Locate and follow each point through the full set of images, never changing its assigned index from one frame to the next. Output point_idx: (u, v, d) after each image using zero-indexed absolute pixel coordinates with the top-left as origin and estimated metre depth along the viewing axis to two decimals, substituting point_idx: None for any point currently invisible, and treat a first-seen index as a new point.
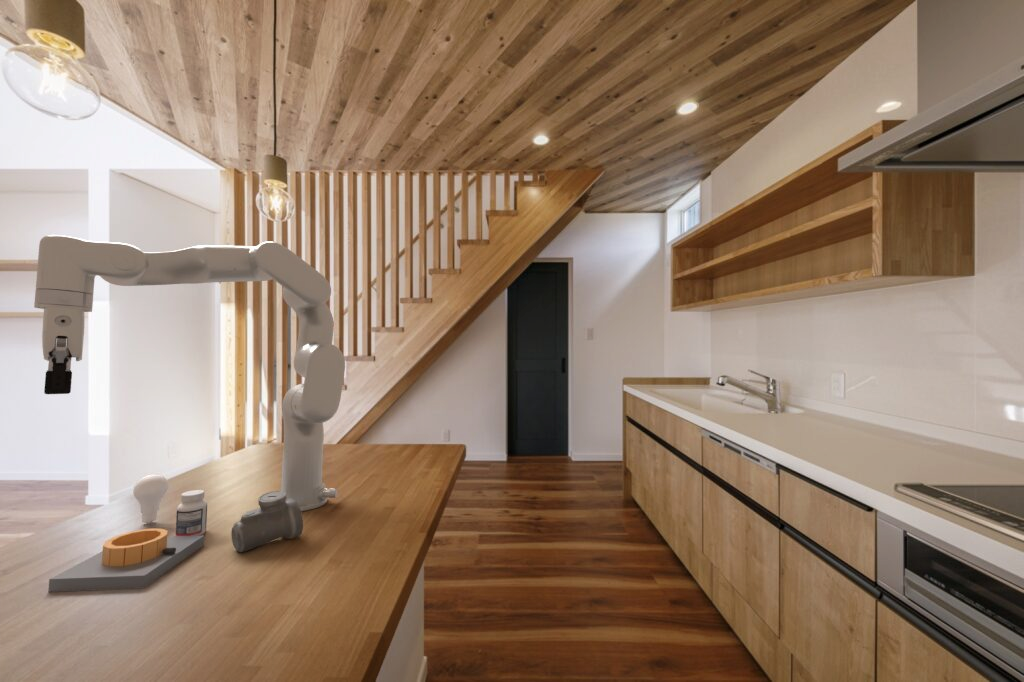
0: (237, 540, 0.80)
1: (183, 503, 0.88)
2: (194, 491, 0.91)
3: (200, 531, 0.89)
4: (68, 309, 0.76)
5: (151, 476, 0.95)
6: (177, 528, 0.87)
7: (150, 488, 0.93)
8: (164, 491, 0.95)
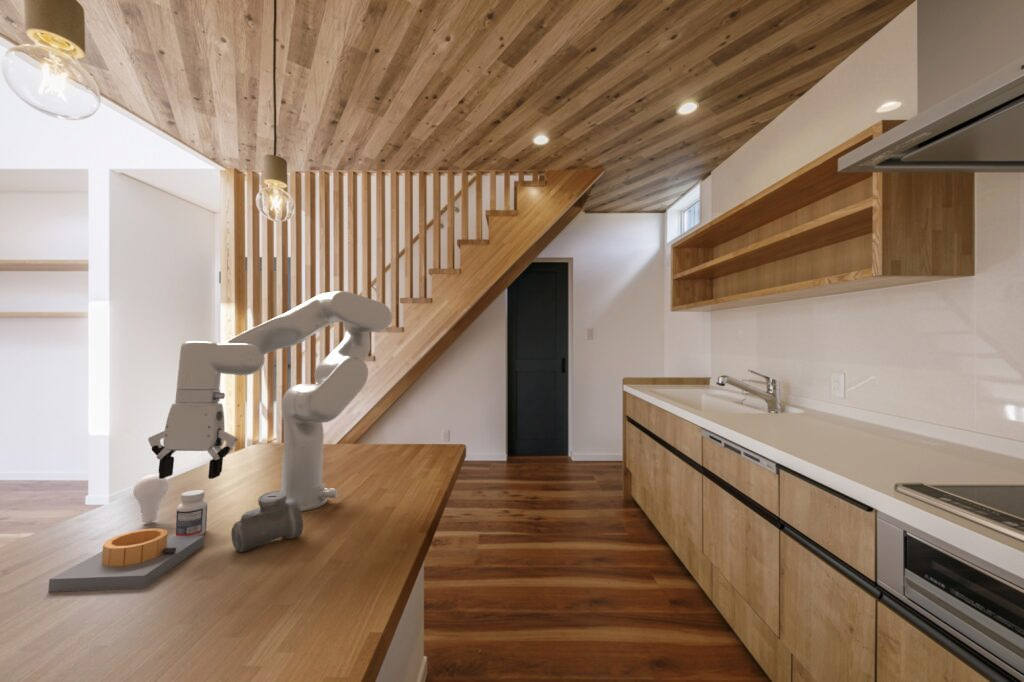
0: (237, 540, 0.80)
1: (183, 503, 0.88)
2: (194, 491, 0.91)
3: (200, 531, 0.89)
4: (220, 405, 0.92)
5: (151, 476, 0.95)
6: (177, 528, 0.87)
7: (150, 488, 0.93)
8: (164, 491, 0.95)
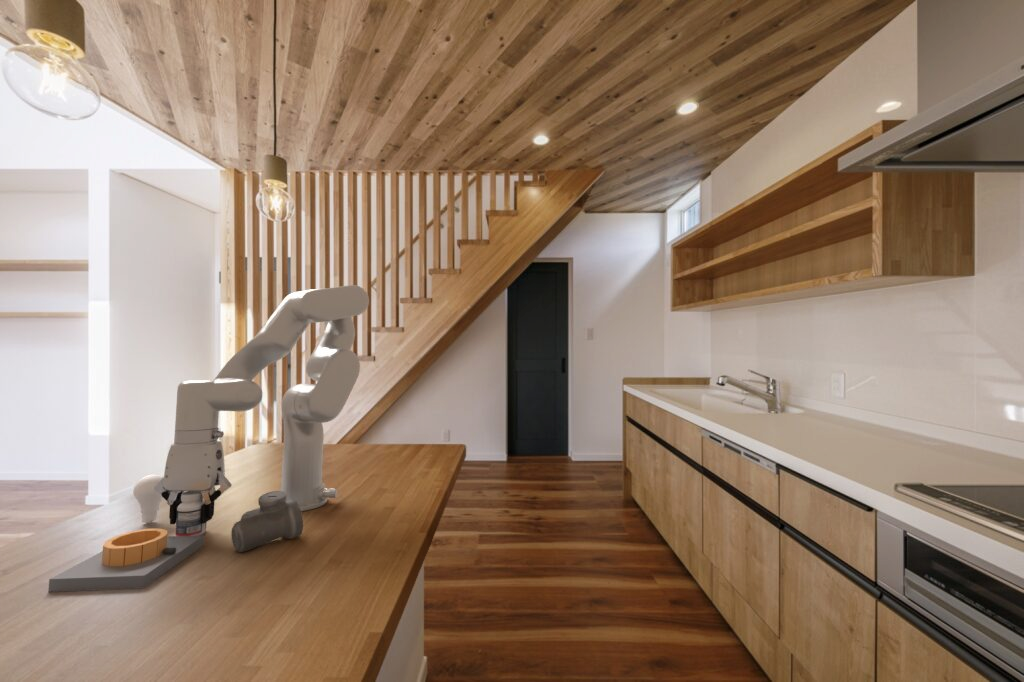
0: (237, 540, 0.80)
1: (183, 503, 0.88)
2: (194, 491, 0.91)
3: (200, 531, 0.89)
4: (219, 443, 0.92)
5: (151, 476, 0.95)
6: (177, 527, 0.87)
7: (150, 488, 0.93)
8: None
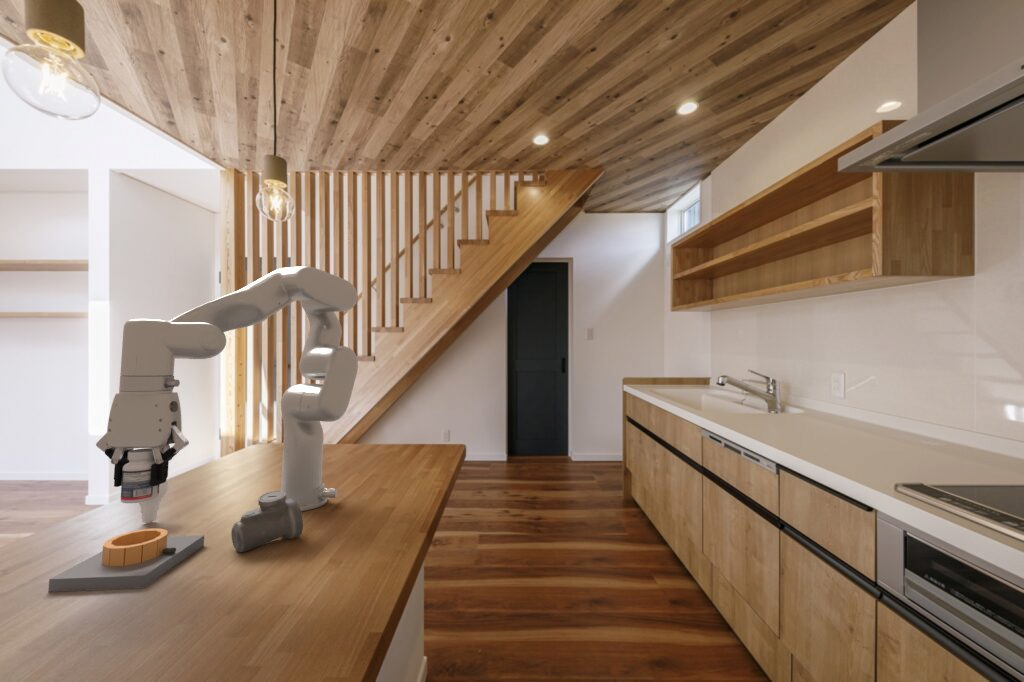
0: (237, 540, 0.80)
1: (130, 462, 0.75)
2: (145, 449, 0.78)
3: (150, 495, 0.75)
4: (174, 394, 0.78)
5: None
6: (122, 490, 0.74)
7: None
8: (164, 491, 0.95)
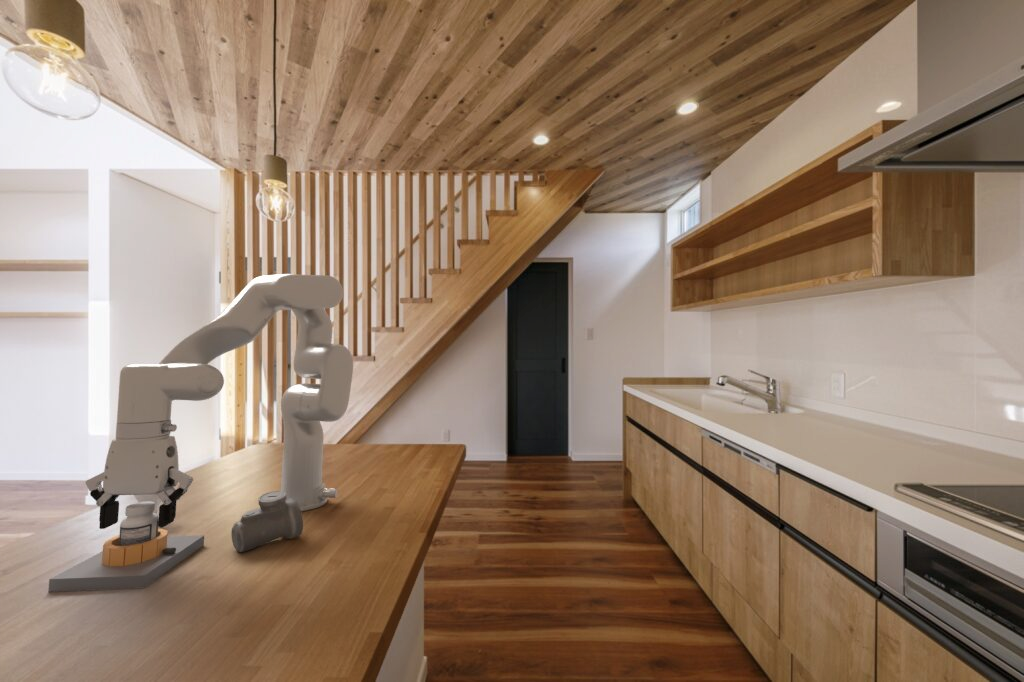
0: (237, 540, 0.80)
1: (128, 518, 0.74)
2: (143, 502, 0.77)
3: None
4: (171, 439, 0.78)
5: None
6: None
7: None
8: None
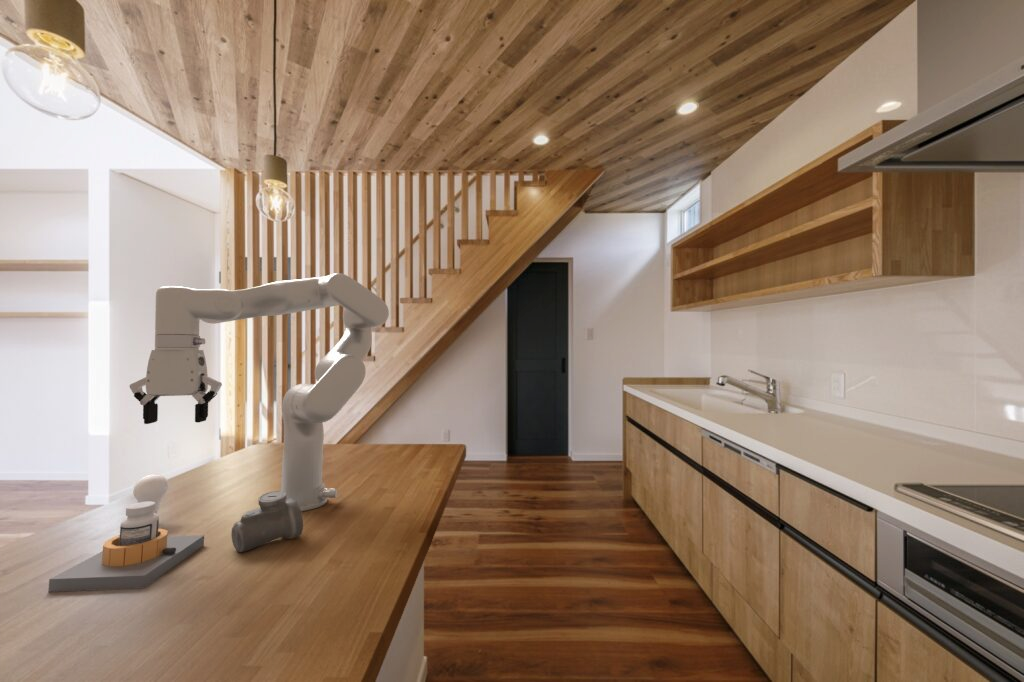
0: (237, 540, 0.80)
1: (128, 517, 0.75)
2: (143, 502, 0.77)
3: None
4: (201, 351, 0.92)
5: (151, 476, 0.95)
6: None
7: (150, 488, 0.93)
8: (164, 491, 0.95)
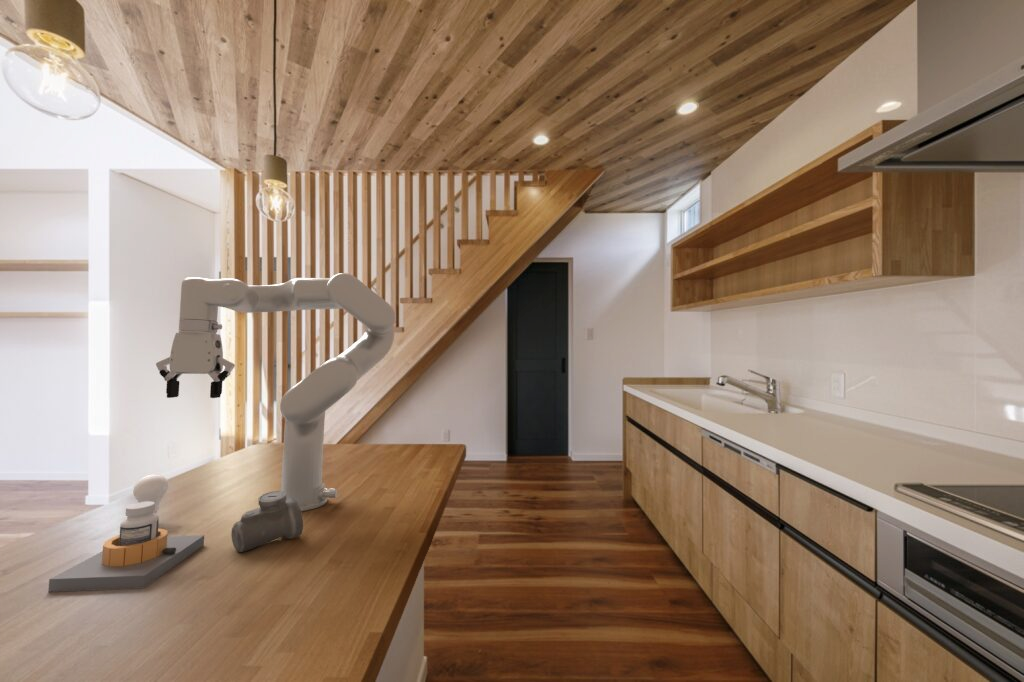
0: (237, 540, 0.80)
1: (128, 518, 0.75)
2: (143, 502, 0.77)
3: None
4: (218, 335, 1.04)
5: (151, 476, 0.95)
6: None
7: (150, 488, 0.93)
8: (164, 491, 0.95)
